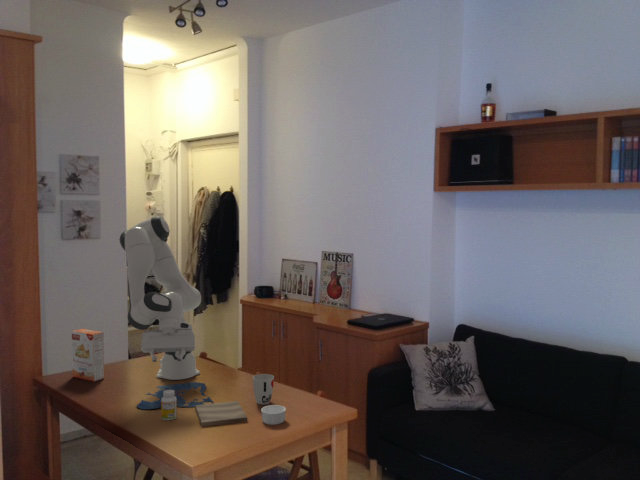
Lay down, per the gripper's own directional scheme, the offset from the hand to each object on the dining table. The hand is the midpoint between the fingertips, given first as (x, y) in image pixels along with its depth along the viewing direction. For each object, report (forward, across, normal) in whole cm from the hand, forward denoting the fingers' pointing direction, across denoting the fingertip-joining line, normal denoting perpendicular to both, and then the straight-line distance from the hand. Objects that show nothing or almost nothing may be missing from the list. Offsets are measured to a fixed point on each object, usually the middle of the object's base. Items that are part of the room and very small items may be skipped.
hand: (167, 360), depth 220 cm
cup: (+12, +36, +14) cm, 40 cm away
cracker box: (-16, -40, +41) cm, 59 cm away
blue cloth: (+4, +1, +21) cm, 22 cm away
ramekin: (+26, +39, 0) cm, 47 cm away
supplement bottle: (+21, +2, +4) cm, 22 cm away
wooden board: (+21, +20, +5) cm, 29 cm away
